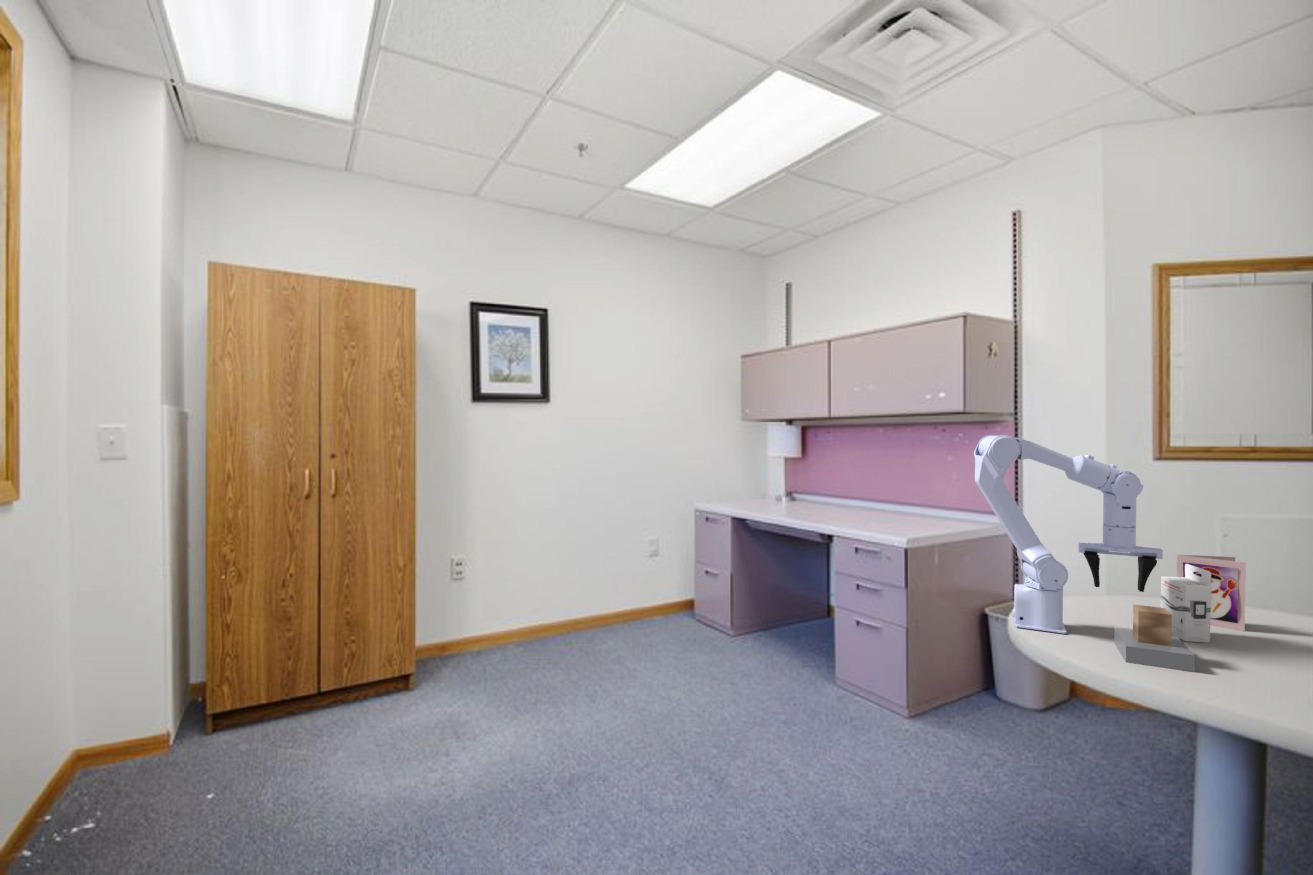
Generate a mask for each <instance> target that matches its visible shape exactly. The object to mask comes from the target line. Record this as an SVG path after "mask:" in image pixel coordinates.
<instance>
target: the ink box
mask: <svg viewBox="0 0 1313 875" xmlns="http://www.w3.org/2000/svg"><path fill="white" fill-rule="evenodd" d="M1197 571H1198V573H1200V574H1201V575H1202V577H1200V576H1197V575H1195V574H1194V572H1197ZM1160 608H1166V609H1167V610H1168V611H1169V612H1170V613H1171V614H1172V636H1177V637H1178V638H1179V639H1180V640H1181V641H1182V642H1191V643H1192V642H1194V643H1195V642H1197V643H1208V644H1209V643H1211V625H1210V619H1211V572H1210V571H1207V570H1204V569H1201V568H1198V567H1195V566H1192V565H1189V564H1185V577H1177V576H1170V575H1169V576H1167V575H1165V576H1164V575H1161V577H1160Z"/></svg>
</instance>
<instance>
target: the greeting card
mask: <svg viewBox="0 0 1313 875" xmlns="http://www.w3.org/2000/svg"><path fill="white" fill-rule="evenodd" d="M1185 564H1189V565H1192V566H1195V567H1198V568H1201V569H1204V570H1207V571H1210V572H1211V619H1210V626H1213V627H1217V628H1218V627H1219V628H1225V629H1229V630H1236V631H1242V632H1245V631H1246V630H1245V627H1246V626H1245V625H1246V620H1245V619H1246V618H1245V617H1246V562H1243V561H1236V556H1217V555H1216V556H1215V555H1194V554H1192V555H1191V554H1177V555H1176V577H1185ZM1194 574H1195V575H1197V576H1200V577H1202V575H1201V574H1200V573H1198V571H1197V572H1194Z"/></svg>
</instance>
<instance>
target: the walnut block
mask: <svg viewBox="0 0 1313 875" xmlns="http://www.w3.org/2000/svg"><path fill="white" fill-rule="evenodd" d="M1132 630H1133V636H1134V637H1135V638H1136V640H1137V641H1138V642H1141V643H1148V644H1155V645H1163V646H1170V647H1172V636H1173V635H1172V614H1171V613H1170V612H1169V611H1168V610H1167V609H1166V608H1161V606H1160V607H1159V606H1148V605H1140V604H1139V605H1138V604H1132Z"/></svg>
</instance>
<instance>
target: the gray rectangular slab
mask: <svg viewBox="0 0 1313 875" xmlns="http://www.w3.org/2000/svg"><path fill="white" fill-rule="evenodd" d="M1113 629H1114V630H1113V636H1114V637H1113V643H1114V644H1115V646H1116V648H1117V650H1118V651H1119V653H1120V655H1121V657H1122V658H1123V660H1124V662H1125V663H1131V664H1137V665H1144V666H1153V667H1157V666H1159V667H1158V668H1165V669H1172V670H1178V671H1179V670H1180V671H1185V672H1192V673H1195V672H1196V655H1195V654H1194V653H1193V651H1192V650H1190V648H1189V647H1188V646H1187V645H1186V644H1185V643H1184V641H1183V640H1182V639H1180V638H1178V637H1177V636H1174V635H1172V647H1170V646H1163V645H1155V644H1148V643H1141V642H1138V641H1137V640H1136V638H1135V637H1134V636H1133V629H1124V628H1123V629H1122V628H1116V627H1114V628H1113Z"/></svg>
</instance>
